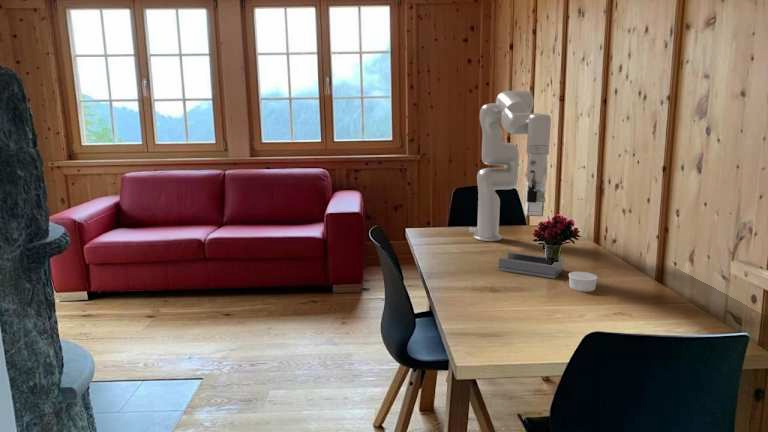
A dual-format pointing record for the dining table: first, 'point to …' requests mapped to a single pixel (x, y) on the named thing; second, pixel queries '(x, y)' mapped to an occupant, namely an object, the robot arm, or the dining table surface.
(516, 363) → the dining table surface
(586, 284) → the ramekin
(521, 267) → the track
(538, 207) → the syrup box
